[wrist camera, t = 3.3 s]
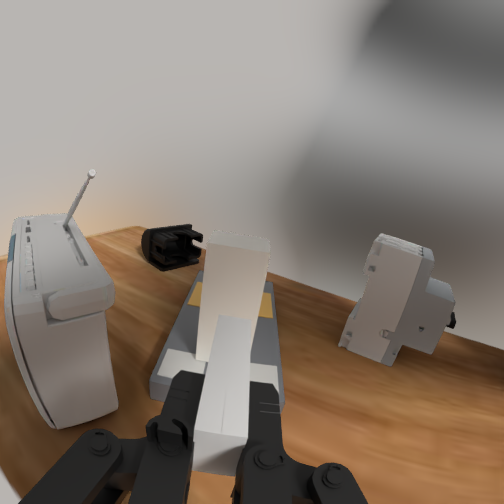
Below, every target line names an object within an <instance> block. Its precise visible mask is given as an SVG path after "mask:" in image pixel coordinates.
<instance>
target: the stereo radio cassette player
mask: <svg viewBox="0 0 504 504" xmlns="http://www.w3.org/2000/svg"><path fill="white" fill-rule="evenodd" d="M95 175H96V171H95V170H94V169H91V170H89V172H88V179H87V180H86V181H85V183H84V185H83V186H82V188H81V190H80V192H79V193H78V194H77V196H76V199H75V201H74V202H73V204H72V206H71V208H70V210H69V212H68V214H65V213H64V214H46V215H40V216H26V217H18V218H16V219H15V220H14V222H13V227H12V233H11V239H10V244H9V253H8V261H7V271H6V282H5V299H4V309H5V319H6V326H7V330H8V334H9V338H10V341H11V345H12V348H13V352H14V355H15V358H16V361H17V364H18V367H19V369H20V372H21V375H22V377H23V380H24V382H25V384H26V387H27V389H28V391H29V393H30V395H31V397H32V399H33V401H34V403H35V405H36V407H37V409H38V411H39V413H40V414H41V416H42V417H43V419H44V420H45V421H46V423H47V424H48V425H49V426H50V427H51V428H55V429H56V428H57V429H62V428H66V427H71V426H75V425H78V424H82V423H85V422H88V421H91V420H94V419H97V418H99V417H101V416H104V415H106V414H108V413H111V412H113V411H115V410H117V409H118V403H119V402H118V397H117V392H116V387H115V382H114V376H113V370H112V364H111V358H110V351H109V343H108V335H107V326H106V316H105V310H107V309H108V308H110V307H111V306H112V305H113V304H114V300H115V288H114V283H113V280H112V279H111V278H110V276H109V275H108V273H107V272H106V270H105V269H104V267H103V266H102V264H101V263H100V261H99V260H98V258H97V256H96V255H95V253H94V252H93V250H92V249H91V247H90V245H89V244H88V242H87V241H86V239H85V237H84V236H83V234H82V232H81V231H80V229H79V227H78V226H77V224H76V222H75V220H74V219H73V217H72V215H73V213H74V211H75V210H76V207H77V206H78V203H79V201H80V199H81V198H82V195H83V193H84V191H85V189H86V187H87V185H88V183H89V180H90V179H92V178H94V176H95ZM55 426H56V427H55Z"/></svg>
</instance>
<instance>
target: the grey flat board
mask: <svg viewBox="0 0 504 504" xmlns="http://www.w3.org/2000/svg"><path fill="white" fill-rule="evenodd" d="M203 274H204V271H201V270H200V271H199V273H198V275H197V277H196V279H195V281H194V283H193V285H192V287H191V289H190V291H189V293H188V296H187V298H186V300H185V302H184V304H183V306H182V308H181V310H180V313H179V315H178V317H177V319H176V321H175V323H174V326H173V328H172V330H171V332H170V334H169V337H168V339H167V341H166V343H165V345H164V348H163V350H162V352H161V354H160V357H159V359H158V361H157V363H156V366H155V368H154V370H153V373H152V375H151V377H150V379H149V388H150V399H154V400H158V401H162V402H165V399H166V397H167V394H168V391H169V388H170V385H171V382H172V379H173V377H174V376H175V375H176V374H177V373H178V372H179V371H180V370H185V371H190V372H195V373H200V374H205V375H206V371H207V366H208V362H205V361H200V360H196V347H197V335H198V324H199V313H200V303H201V293H202V283H203ZM250 381H255V382H263V383H272V384H273V385H274V387H275V388H276V390H277V391H278V393H279V403H280V404H279V406H280V415H281V412H282V409H283V407H284V404H285V397H284V387H283V377H282V367H281V357H280V347H279V337H278V328H277V318H276V309H275V300H274V291H273V282H268V281H265V285H264V290H263V295H262V300H261V304H260V309H259V314H258V319H257V324H256V328H255V333H254V338H253V343H252V347H251V353H250Z"/></svg>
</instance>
